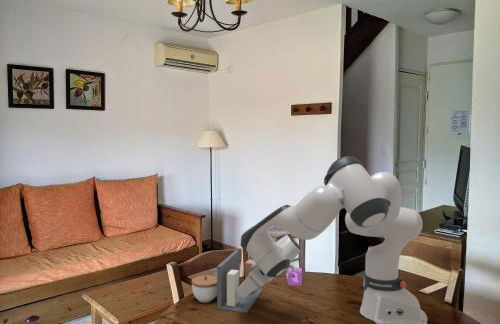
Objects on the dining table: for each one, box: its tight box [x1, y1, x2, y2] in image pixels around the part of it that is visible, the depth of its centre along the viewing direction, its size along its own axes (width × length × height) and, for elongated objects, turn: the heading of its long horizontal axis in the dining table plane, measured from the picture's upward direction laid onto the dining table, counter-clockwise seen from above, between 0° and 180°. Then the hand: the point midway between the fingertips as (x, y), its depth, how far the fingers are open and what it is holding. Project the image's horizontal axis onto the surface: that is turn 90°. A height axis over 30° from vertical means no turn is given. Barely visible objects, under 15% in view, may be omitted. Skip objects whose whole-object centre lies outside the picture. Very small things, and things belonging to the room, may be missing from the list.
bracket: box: [285, 267, 303, 286], centre depth 177 cm, size 13×6×7 cm, turn 1°
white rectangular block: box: [227, 269, 240, 307], centre depth 149 cm, size 3×5×12 cm, turn 164°
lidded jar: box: [191, 274, 217, 303], centre depth 156 cm, size 11×11×9 cm
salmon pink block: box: [244, 258, 254, 293], centre depth 162 cm, size 3×5×12 cm, turn 164°
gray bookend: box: [216, 249, 263, 314], centre depth 156 cm, size 12×22×16 cm, turn 164°
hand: (238, 292), depth 149 cm, fingers closed, pressing on white rectangular block
